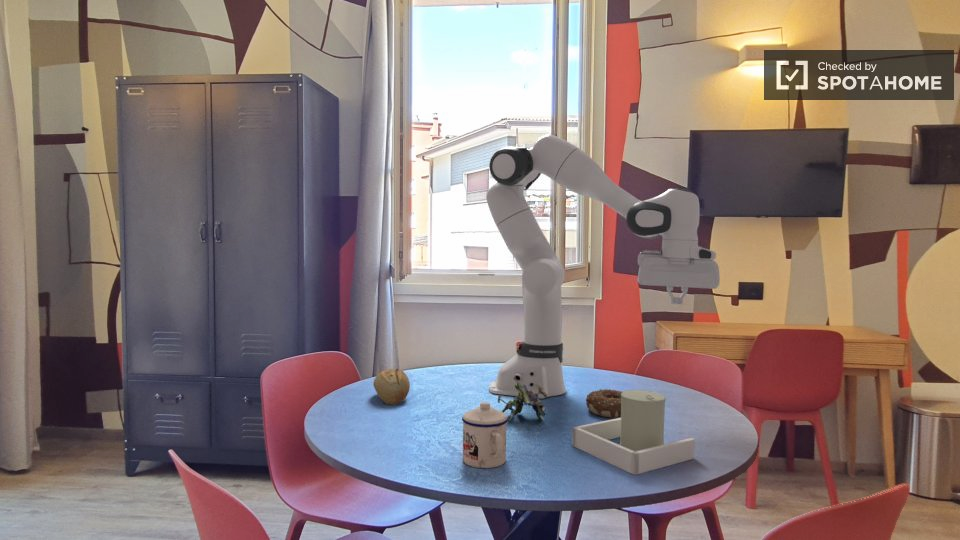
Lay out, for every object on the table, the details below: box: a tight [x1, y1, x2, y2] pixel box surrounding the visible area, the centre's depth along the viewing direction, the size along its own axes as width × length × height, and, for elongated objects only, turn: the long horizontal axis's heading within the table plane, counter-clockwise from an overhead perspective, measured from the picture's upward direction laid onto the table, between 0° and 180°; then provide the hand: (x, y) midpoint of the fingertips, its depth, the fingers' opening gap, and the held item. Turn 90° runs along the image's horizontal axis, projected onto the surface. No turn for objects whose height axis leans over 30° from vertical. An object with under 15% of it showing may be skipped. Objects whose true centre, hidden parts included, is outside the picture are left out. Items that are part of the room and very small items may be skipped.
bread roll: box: [372, 368, 411, 406], centre depth 160 cm, size 10×15×8 cm, turn 21°
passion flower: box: [497, 382, 548, 423], centre depth 142 cm, size 11×11×12 cm
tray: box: [571, 418, 696, 476], centre depth 122 cm, size 17×18×4 cm
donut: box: [585, 388, 625, 419], centre depth 150 cm, size 14×14×5 cm
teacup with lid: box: [461, 401, 509, 469], centre depth 115 cm, size 12×9×12 cm
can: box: [618, 389, 666, 452], centre depth 124 cm, size 9×9×12 cm
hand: (676, 304), depth 153 cm, fingers closed
